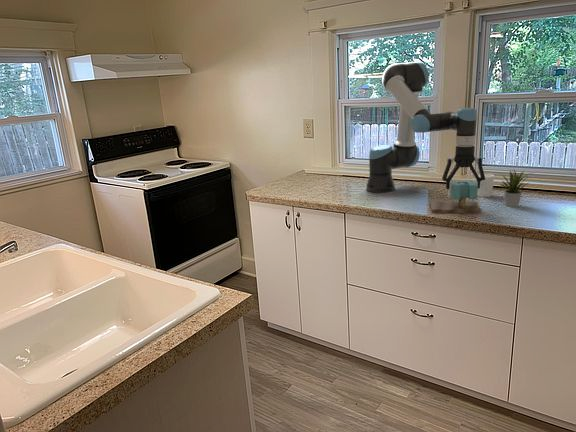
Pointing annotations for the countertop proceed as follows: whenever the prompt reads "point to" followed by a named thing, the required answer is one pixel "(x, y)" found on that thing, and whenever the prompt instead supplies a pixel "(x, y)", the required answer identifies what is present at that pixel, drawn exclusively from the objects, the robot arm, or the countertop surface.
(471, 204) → the baseplate
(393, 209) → the countertop surface
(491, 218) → the countertop surface
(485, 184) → the white cup
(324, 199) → the countertop surface
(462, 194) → the teal notched block
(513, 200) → the house plant
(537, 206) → the countertop surface
